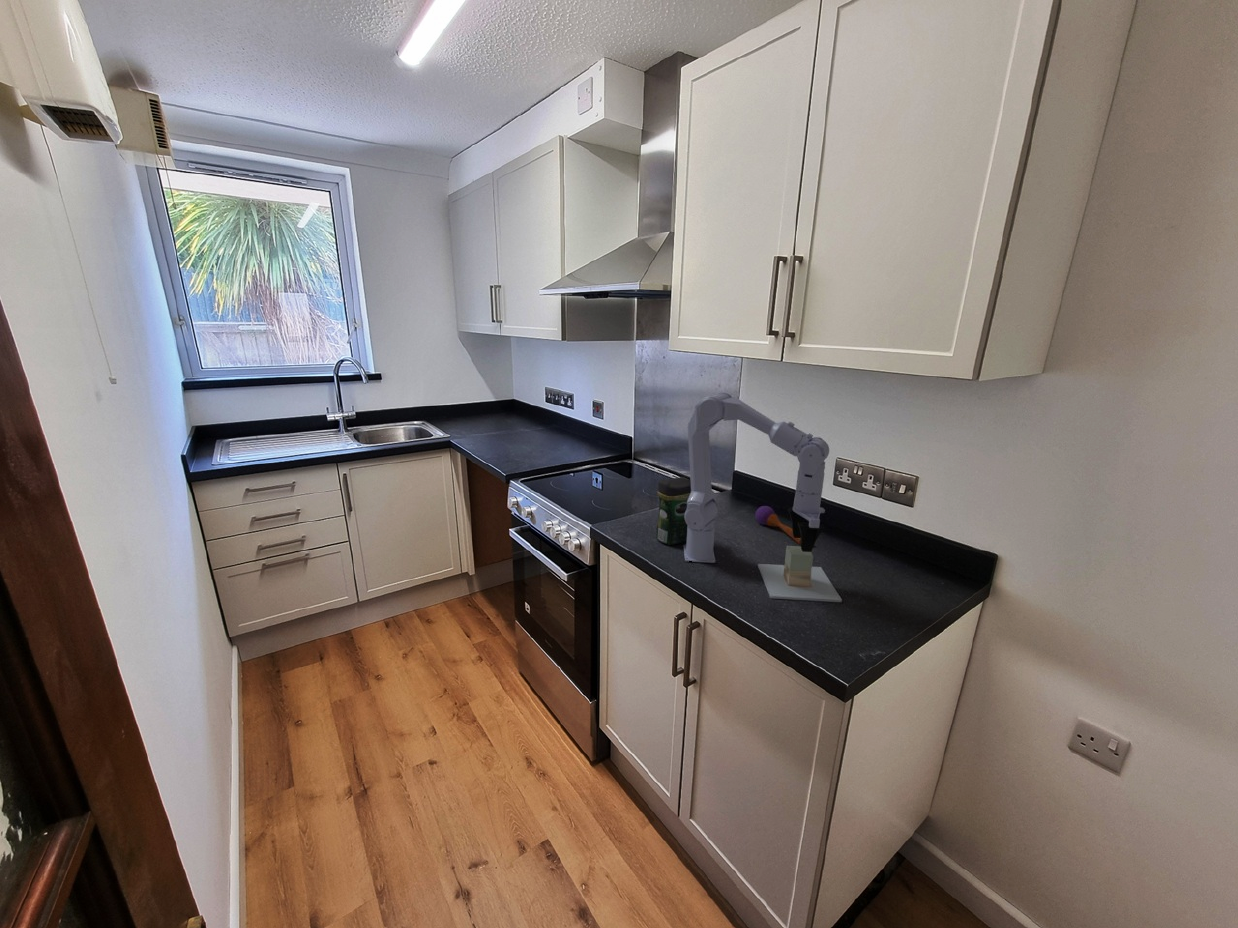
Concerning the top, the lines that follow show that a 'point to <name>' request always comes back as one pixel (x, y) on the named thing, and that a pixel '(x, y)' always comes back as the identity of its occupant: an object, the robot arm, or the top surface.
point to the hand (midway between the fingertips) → (801, 544)
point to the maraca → (773, 520)
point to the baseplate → (781, 590)
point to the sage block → (798, 559)
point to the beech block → (797, 577)
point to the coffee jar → (673, 510)
